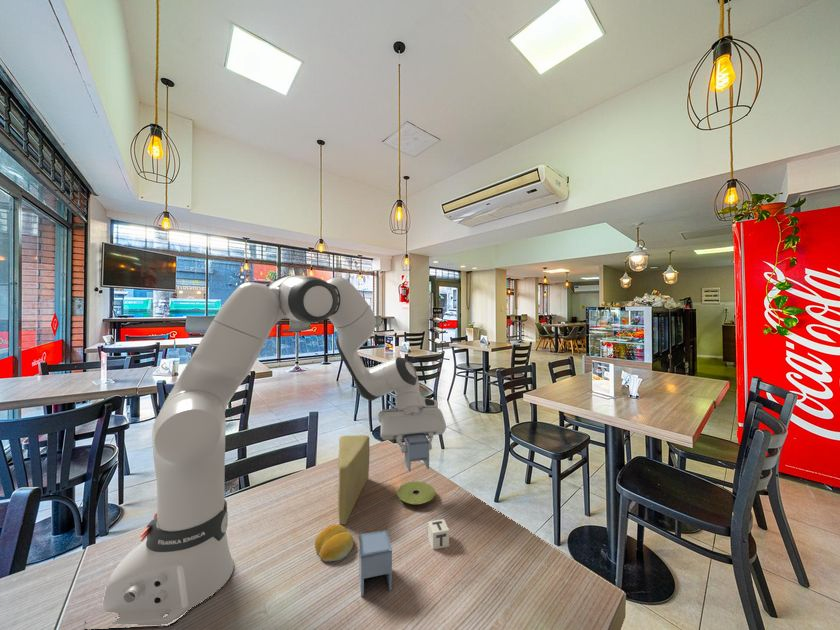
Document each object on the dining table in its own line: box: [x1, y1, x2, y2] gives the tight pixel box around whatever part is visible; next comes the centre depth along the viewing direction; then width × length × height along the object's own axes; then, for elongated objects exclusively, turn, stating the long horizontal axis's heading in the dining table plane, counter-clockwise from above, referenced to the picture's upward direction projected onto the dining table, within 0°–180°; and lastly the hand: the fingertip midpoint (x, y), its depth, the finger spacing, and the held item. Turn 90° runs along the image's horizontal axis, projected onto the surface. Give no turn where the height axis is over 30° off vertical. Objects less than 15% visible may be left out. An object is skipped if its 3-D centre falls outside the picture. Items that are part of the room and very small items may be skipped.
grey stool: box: [404, 433, 430, 472], centre depth 92 cm, size 6×6×8 cm
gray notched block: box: [358, 529, 393, 598], centre depth 64 cm, size 6×6×8 cm
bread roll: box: [314, 523, 354, 562], centre depth 73 cm, size 8×9×4 cm
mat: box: [396, 481, 436, 505], centre depth 92 cm, size 11×11×2 cm
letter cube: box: [427, 518, 450, 550], centre depth 75 cm, size 4×4×4 cm
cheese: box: [337, 434, 371, 525], centre depth 91 cm, size 22×10×15 cm, turn 4°
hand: (417, 450), depth 91 cm, fingers closed on grey stool, 6 cm apart
